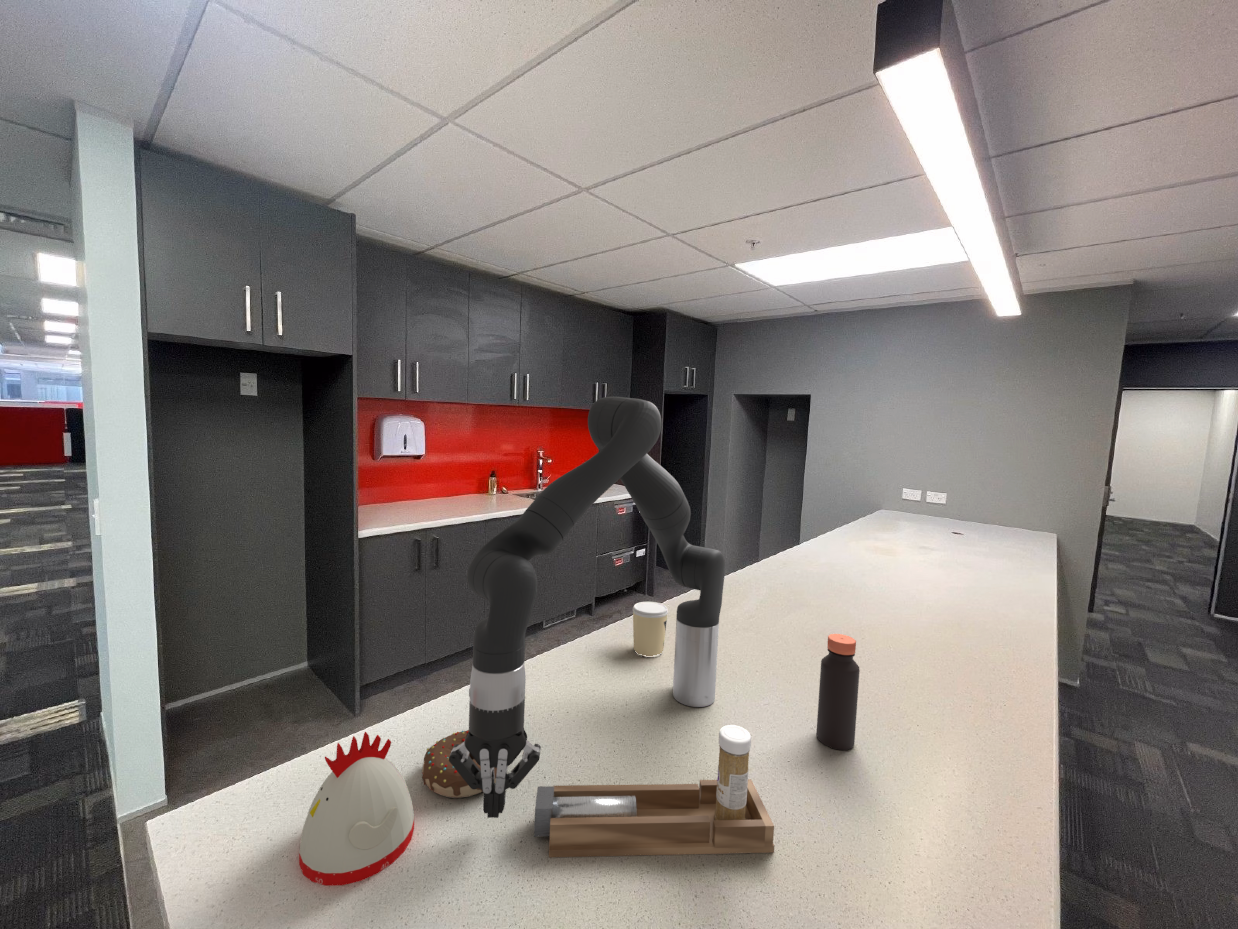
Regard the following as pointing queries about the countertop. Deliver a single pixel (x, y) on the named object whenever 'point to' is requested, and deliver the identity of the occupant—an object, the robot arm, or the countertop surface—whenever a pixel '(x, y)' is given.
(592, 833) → the tray
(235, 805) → the countertop surface
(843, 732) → the vinegar
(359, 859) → the kitchen timer
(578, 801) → the shaft
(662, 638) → the coffee cup
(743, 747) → the sprinkles bottle
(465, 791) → the donut
